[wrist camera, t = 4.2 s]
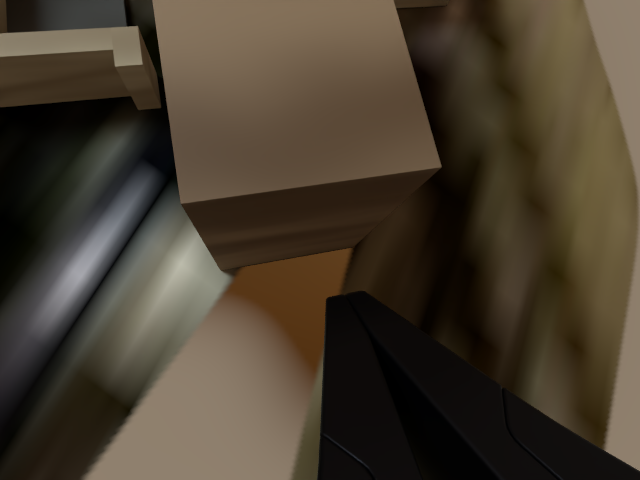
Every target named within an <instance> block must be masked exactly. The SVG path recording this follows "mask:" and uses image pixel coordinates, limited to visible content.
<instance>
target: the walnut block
mask: <svg viewBox="0 0 640 480" xmlns="http://www.w3.org/2000/svg"><path fill="white" fill-rule="evenodd" d="M153 7H154V15H155V22H156V29H157V36H158V43H159V50H160V58H161V65H162V72H163V79H164V86H165V94H166V101H167V108H168V115H169V122H170V129H171V137H172V144H173V151H174V158H175V165H176V172H177V180H178V187H179V194H180V201H181V205H182V207H183V208H184V210H185V212H186V213H187V215H188V217H189V218H190V220H191V222H192V223H193V225H194V227H195V228H196V230H197V232H198V233H199V235H200V237H201V238H202V240H203V242H204V243H205V245H206V247H207V248H208V250H209V252H210V253H211V255H212V257H213V258H214V260H215V262H216V264H217V265H218V267H219V269H220V270H226V269H232V268H237V267H245V266H251V265H257V264H262V263H268V262H273V261H279V260H285V259H291V258H296V257H302V256H308V255H313V254H319V253H324V252H330V251H335V250H342V249H347V248H351V247H354V246H355V245H356V244H357V243H358V242H359V241H361V240H362V239H363V238H364V237H365V236H366V235H367V234H368V233H369V232H371V231H372V230H373V229H374V228H375V227H376V226H377V225H378V224H379V223H380V222H382V221H383V220H384V219H385V218H386V217H387V216H388V215H389V214H390V213H392V212H393V211H394V210H395V209H396V208H397V207H398V206H399V205H400V204H401V203H403V202H404V201H405V200H406V199H407V198H408V197H409V196H410V195H411V194H413V193H414V192H415V191H416V190H417V189H418V188H419V187H420V186H421V185H422V184H424V183H425V182H426V181H427V180H428V179H429V178H430V177H431V176H432V175H434V174H435V173H436V172H437V171H438V170H439V169H440V168H441V163H440V160H439V156H438V153H437V149H436V146H435V142H434V139H433V135H432V132H431V128H430V125H429V121H428V118H427V115H426V111H425V108H424V104H423V101H422V97H421V94H420V90H419V87H418V83H417V80H416V76H415V73H414V69H413V66H412V63H411V59H410V56H409V52H408V49H407V45H406V42H405V38H404V35H403V31H402V28H401V24H400V21H399V17H398V14H397V10H396V7H395V4H394V0H153Z"/></svg>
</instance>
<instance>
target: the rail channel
mask: <svg viewBox="0 0 640 480" xmlns="http://www.w3.org/2000/svg"><path fill="white" fill-rule="evenodd" d="M449 1H450V0H394V4H395V7H396V8H411V7H430V6H447V4H448V2H449ZM125 96H131V97H132V99H133V101H134V103H135V105H136V106H137V108H138V110H144V109H155V108H161V102H160V94H159V87H158V80H157V74H156V71H155V69H154V66H153V64H152V61H151V59H150V56H149V54H148V51H147V48H146V46H145V43H144V41H143V38H142V36H141V33H140V31H139V28H138V26H131V27H128V21H127V13H126V5H125V0H0V107H10V106H21V105H33V104H45V103H56V102H68V101H79V100H91V99H102V98H114V97H125Z"/></svg>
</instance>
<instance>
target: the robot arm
mask: <svg viewBox="0 0 640 480" xmlns="http://www.w3.org/2000/svg"><path fill="white" fill-rule="evenodd" d="M317 480H640V471H638V470H637V469H635V468H633V467H632V466H630V465H628V464H626V463H625V462H623V461H621V460H620V459H618V458H616V457H614V456H613V455H611V454H609V453H608V452H606V451H604V450H602V449H601V448H599V447H597V446H596V445H594V444H592V443H590V442H589V441H587V440H585V439H584V438H582V437H580V436H579V435H577V434H575V433H574V432H572V431H571V430H569V429H567V428H566V427H564V426H562V425H561V424H559V423H557V422H556V421H554V420H553V419H551V418H549V417H548V416H546V415H545V414H543V413H542V412H540V411H539V410H537V409H536V408H534V407H533V406H531V405H530V404H528V403H527V402H525V401H524V400H522V399H521V398H519V397H518V396H516V395H515V394H513V393H512V392H511V391H509V390H508V389H506V388H503V389H502V386H501V385H500V384H499V383H497V382H496V381H494V380H493V379H491V378H490V377H489V376H487V375H486V374H484V373H483V372H481V371H480V370H478V369H477V368H475V367H474V366H473V365H471V364H470V363H468V362H467V361H465V360H464V359H462V358H461V357H459V356H458V355H457V354H455V353H454V352H452V351H451V350H449V349H448V348H446V347H445V346H443V345H442V344H441V343H439V342H438V341H436V340H435V339H433V338H432V337H430V336H429V335H427V334H426V333H425V332H423V331H422V330H420V329H419V328H417V327H416V326H414V325H413V324H412V323H410V322H409V321H407V320H406V319H404V318H403V317H401V316H400V315H398V314H397V313H396V312H394V311H393V310H391V309H390V308H388V307H387V306H385V305H384V304H382V303H381V302H380V301H378V300H377V299H375V298H374V297H372V296H371V295H369V294H368V293H366V292H365V291H357V292H352V293H348V294H346V295H337V296H332V297H328V298H327V299H326V313H325V335H324V358H323V381H322V404H321V426H320V444H319V464H318V477H317Z"/></svg>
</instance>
